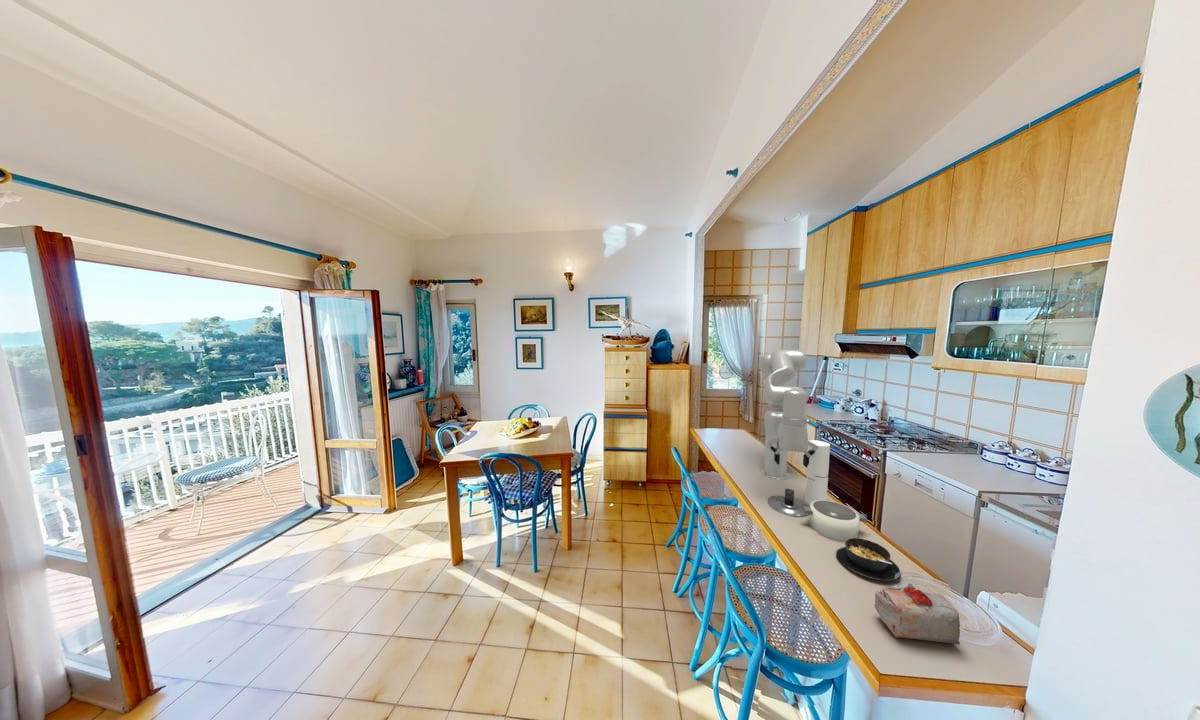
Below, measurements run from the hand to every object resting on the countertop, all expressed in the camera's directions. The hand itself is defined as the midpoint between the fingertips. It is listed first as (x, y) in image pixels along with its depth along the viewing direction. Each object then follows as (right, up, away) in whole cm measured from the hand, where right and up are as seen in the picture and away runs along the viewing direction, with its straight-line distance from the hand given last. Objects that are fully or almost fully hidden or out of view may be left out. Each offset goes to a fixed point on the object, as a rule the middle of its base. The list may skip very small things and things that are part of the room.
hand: (791, 464), depth 129 cm
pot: (+7, -19, -13) cm, 24 cm away
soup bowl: (+4, -21, -31) cm, 38 cm away
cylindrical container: (+12, -17, +4) cm, 22 cm away
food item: (-1, -22, -52) cm, 56 cm away
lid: (0, -18, +2) cm, 18 cm away
